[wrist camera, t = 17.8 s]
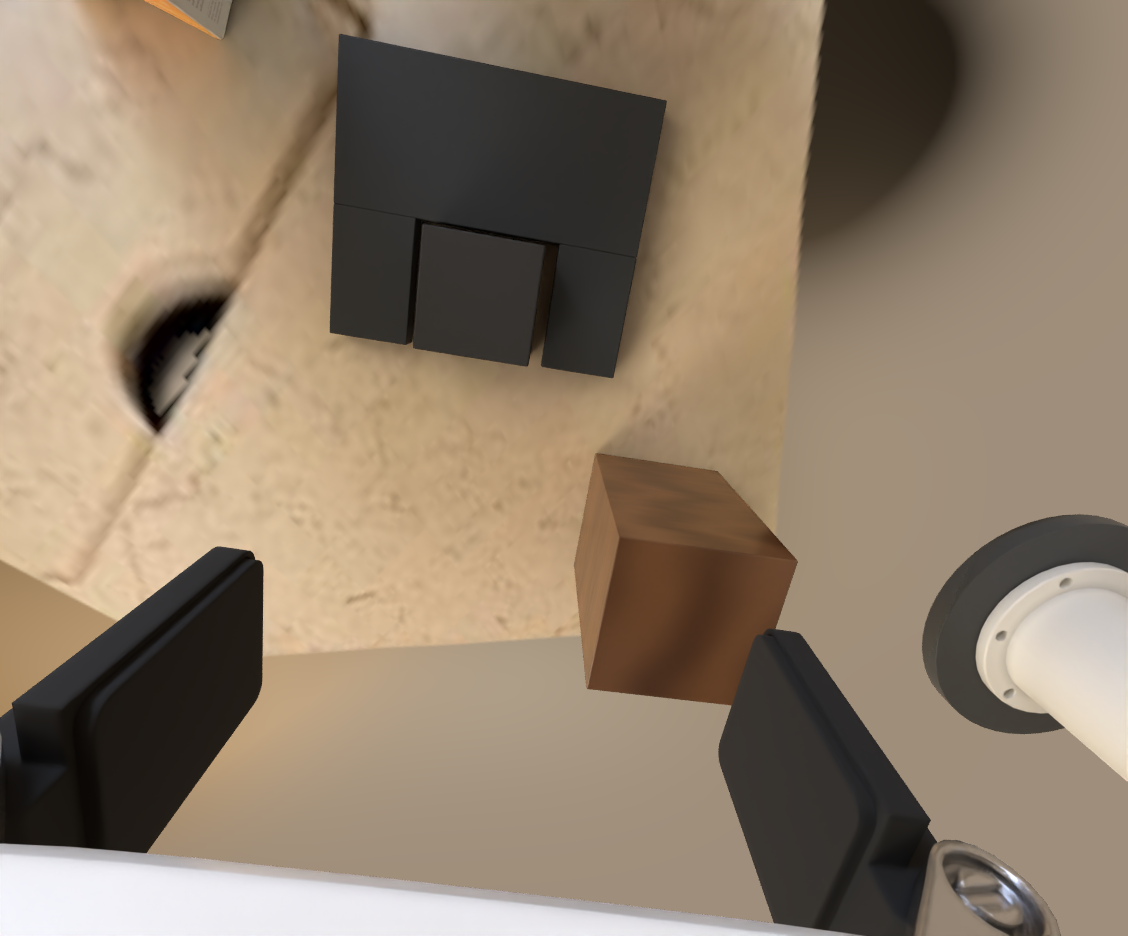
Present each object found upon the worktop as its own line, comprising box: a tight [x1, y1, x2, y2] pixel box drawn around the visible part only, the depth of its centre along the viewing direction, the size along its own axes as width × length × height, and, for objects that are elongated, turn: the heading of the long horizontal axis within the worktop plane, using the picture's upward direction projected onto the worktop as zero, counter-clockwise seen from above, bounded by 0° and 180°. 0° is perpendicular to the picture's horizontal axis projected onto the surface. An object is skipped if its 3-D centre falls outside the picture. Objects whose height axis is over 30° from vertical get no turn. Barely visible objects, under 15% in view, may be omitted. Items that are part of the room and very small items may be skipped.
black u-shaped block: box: [330, 34, 667, 378], centre depth 30 cm, size 16×14×2 cm
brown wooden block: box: [574, 453, 798, 705], centre depth 31 cm, size 8×8×12 cm
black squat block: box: [413, 224, 545, 366], centre depth 30 cm, size 6×6×4 cm
